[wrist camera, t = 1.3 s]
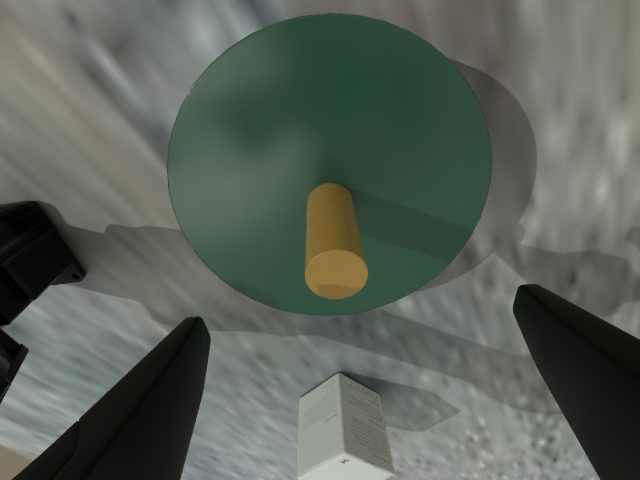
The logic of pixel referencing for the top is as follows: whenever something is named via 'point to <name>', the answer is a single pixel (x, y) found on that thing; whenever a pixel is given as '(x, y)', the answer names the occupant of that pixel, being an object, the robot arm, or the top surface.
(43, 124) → the top surface
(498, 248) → the top surface
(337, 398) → the product box
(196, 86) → the lid
